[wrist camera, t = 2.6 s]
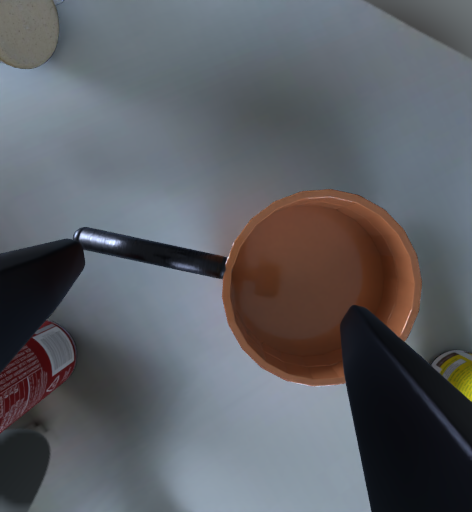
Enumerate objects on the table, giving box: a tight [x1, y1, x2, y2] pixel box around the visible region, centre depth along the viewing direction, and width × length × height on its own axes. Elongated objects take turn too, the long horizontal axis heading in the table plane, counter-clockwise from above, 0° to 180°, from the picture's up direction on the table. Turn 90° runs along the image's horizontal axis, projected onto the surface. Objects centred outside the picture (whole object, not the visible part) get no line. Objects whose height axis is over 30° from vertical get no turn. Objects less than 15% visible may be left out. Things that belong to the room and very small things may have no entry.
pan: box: [222, 189, 422, 386], centre depth 21 cm, size 15×15×5 cm
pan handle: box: [73, 227, 233, 279], centre depth 20 cm, size 13×2×2 cm, turn 78°
